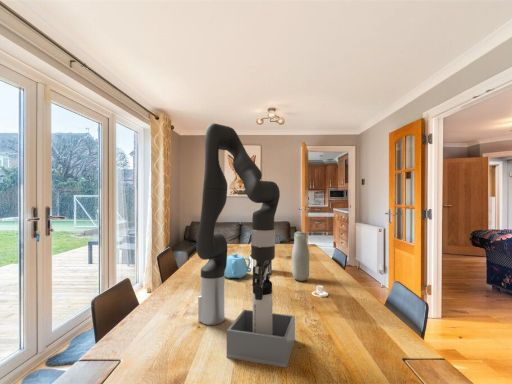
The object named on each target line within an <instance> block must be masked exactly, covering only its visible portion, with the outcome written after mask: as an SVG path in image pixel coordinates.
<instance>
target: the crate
mask: <svg viewBox="0 0 512 384" xmlns="http://www.w3.org/2000/svg"><path fill="white" fill-rule="evenodd" d="M272 335H273V336H272ZM272 335H265V334H258V333H253V310H252V309H251V310H249V309H243V310H242V311H241V313H240V314H239V315H238V316H237V318H235V320H234V321H233V322H232V323H231V325H230V326H229V327H228V328H227V329H226V358H229V359H235V360H240V361H246V362H251V363H256V364H263V365H268V366H275V367H279V368H280V367H281V368H287V367H288V364H289V361H290V357H291V353H292V351H293V349H294V344H295V342H296V316H295V315H293V314H292V315H291V314H283V313H282V314H281V313H275V312H272Z"/></svg>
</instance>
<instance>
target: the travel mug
mask: <svg viewBox="0 0 512 384" xmlns="http://www.w3.org/2000/svg"><path fill="white" fill-rule="evenodd" d="M257 283H259V280H258V281H257ZM252 311H253V333H258V334H265V335H272V313H273V282H272V281H271V280H270V281H269V280H265V281H264V282H263V299H262V300H256V299H255V287H253V286H252ZM272 336H273V335H272Z"/></svg>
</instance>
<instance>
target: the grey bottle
mask: <svg viewBox="0 0 512 384" xmlns="http://www.w3.org/2000/svg"><path fill="white" fill-rule="evenodd" d="M293 238H294V241H293V245H292V246H293V247H292V250H291V262H292V263H291V264H292V265H291V266H292V268H291V269H292V270H291V271H292V277H293V279H295V280H296V281H299V282H305V281H307V280H308V278H309V277H310V249H309V245H308V241H307V238H308V237H307V233H306V232H305V231H300V230H299V231H296V232H294V234H293Z"/></svg>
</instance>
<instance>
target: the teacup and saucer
mask: <svg viewBox="0 0 512 384" xmlns="http://www.w3.org/2000/svg"><path fill="white" fill-rule="evenodd" d="M315 293H316V294H317V295H316V294H315ZM311 294H312V295H313V296H315V297H319V298H320V297H323V298H324V297H327V296H328V295H329V293H328V292H325V291H324V286H323V285H316V290H314V291H312V292H311Z"/></svg>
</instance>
